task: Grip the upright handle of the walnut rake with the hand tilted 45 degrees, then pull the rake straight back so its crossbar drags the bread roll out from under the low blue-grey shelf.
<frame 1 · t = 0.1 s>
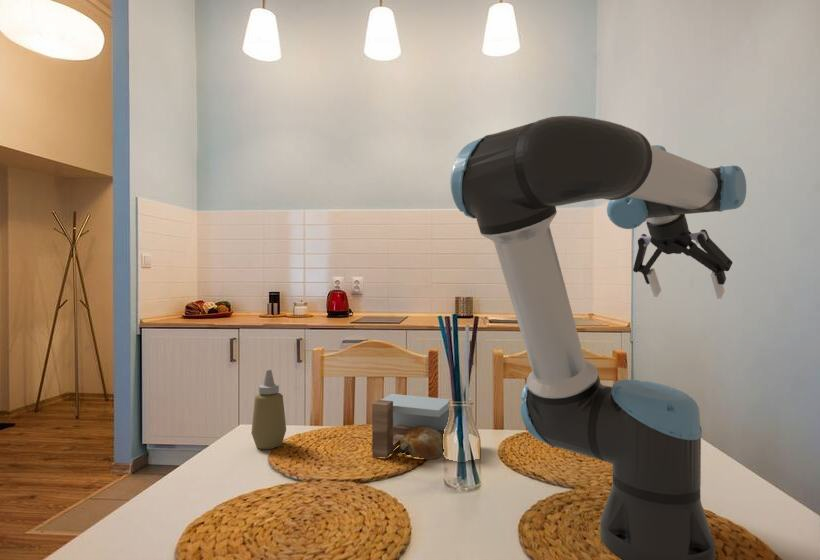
hand: (687, 294, 112), 36 cm above the table, tool tilted 35°, fingers open, 13 cm apart
bread roll: (421, 454, 110), on the table
squeeze bottle: (269, 446, 115), on the table
walnut rake: (382, 455, 108), on the table
low shelf: (414, 445, 115), on the table
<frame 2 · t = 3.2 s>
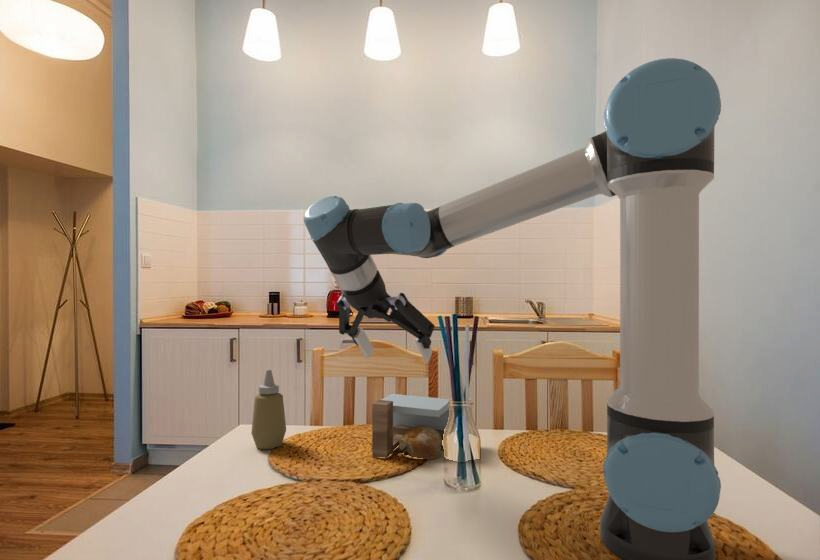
hand: (398, 355, 98), 24 cm above the table, tool tilted 40°, fingers open, 13 cm apart
nothing on the table moved.
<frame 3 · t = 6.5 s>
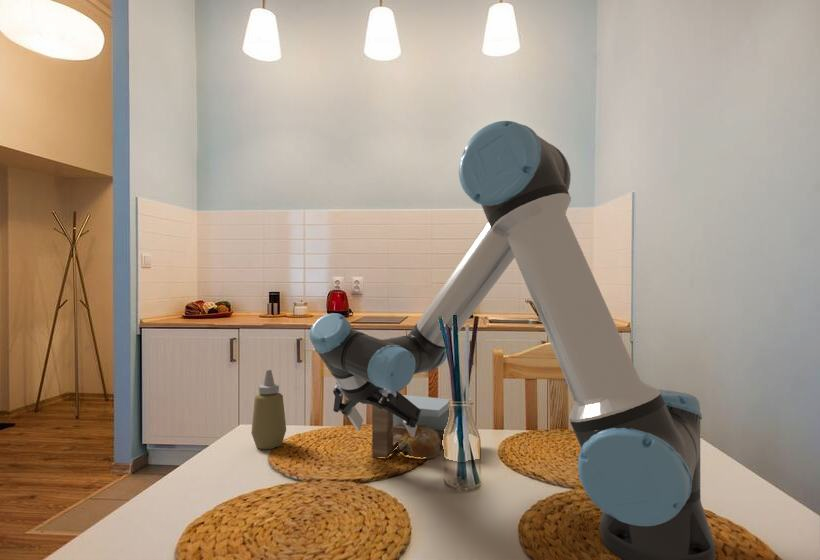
hand: (386, 428, 110), 5 cm above the table, tool tilted 45°, fingers open, 13 cm apart
nothing on the table moved.
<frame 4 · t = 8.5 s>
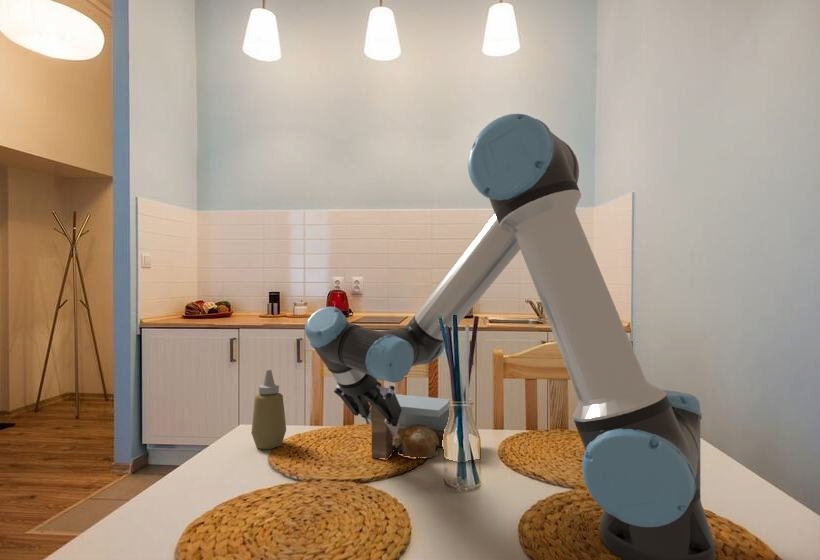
hand: (387, 429, 110), 5 cm above the table, tool tilted 45°, fingers closed on walnut rake, 3 cm apart
bread roll: (416, 453, 110), on the table, touching walnut rake
walnut rake: (382, 456, 108), on the table, touching bread roll, gripper
everything else where it was.
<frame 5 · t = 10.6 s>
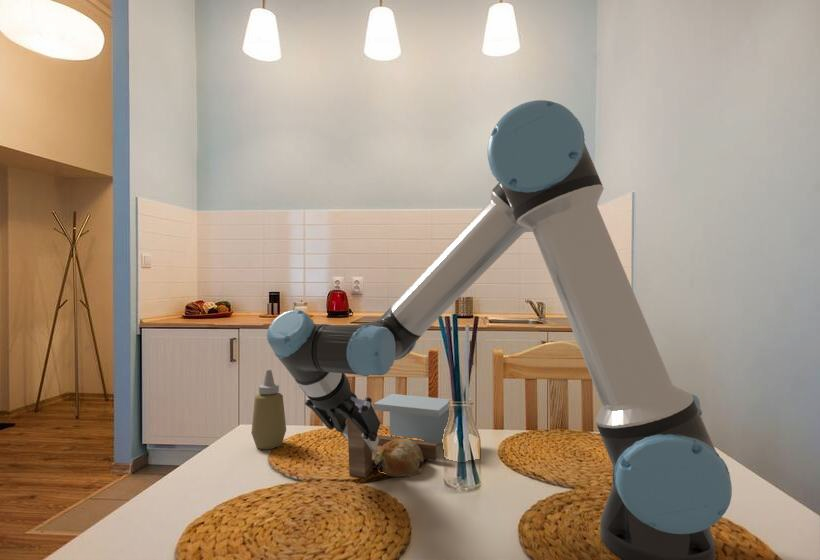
hand: (366, 444, 101), 5 cm above the table, tool tilted 45°, fingers closed on walnut rake, 3 cm apart
bread roll: (398, 470, 101), on the table
walnut rake: (361, 472, 98), on the table, touching gripper
everything else where it was.
when the fingers open (5 cm above the table, at t = 11.2 s): walnut rake stays where it is, on the table.
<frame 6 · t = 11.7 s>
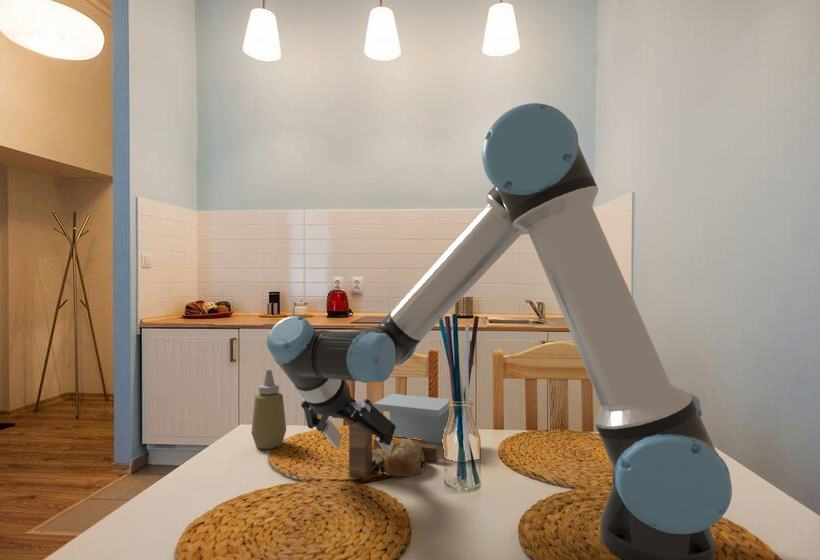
hand: (363, 445, 99), 5 cm above the table, tool tilted 45°, fingers open, 11 cm apart
walnut rake: (360, 473, 98), on the table
everything else where it was.
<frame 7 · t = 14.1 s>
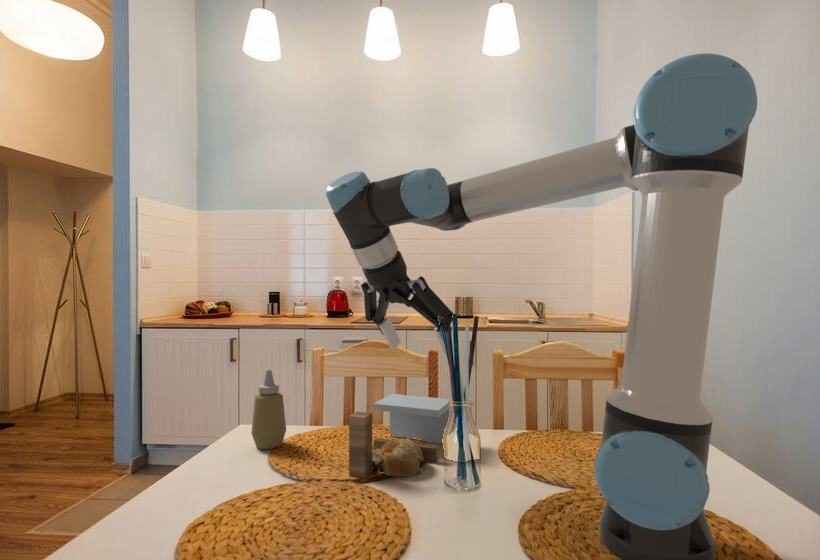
hand: (422, 348, 95), 26 cm above the table, tool tilted 35°, fingers open, 13 cm apart
nothing on the table moved.
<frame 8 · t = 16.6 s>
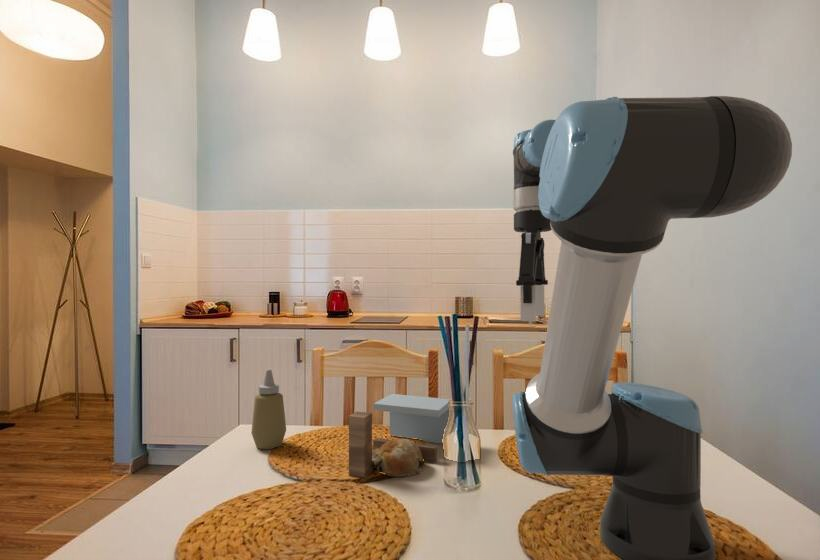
hand: (533, 318, 96), 32 cm above the table, tool pointing down, fingers open, 13 cm apart
nothing on the table moved.
at the end: bread roll inside the target area (7.7 cm from its centre), on the table; walnut rake moved 10.5 cm from its start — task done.
